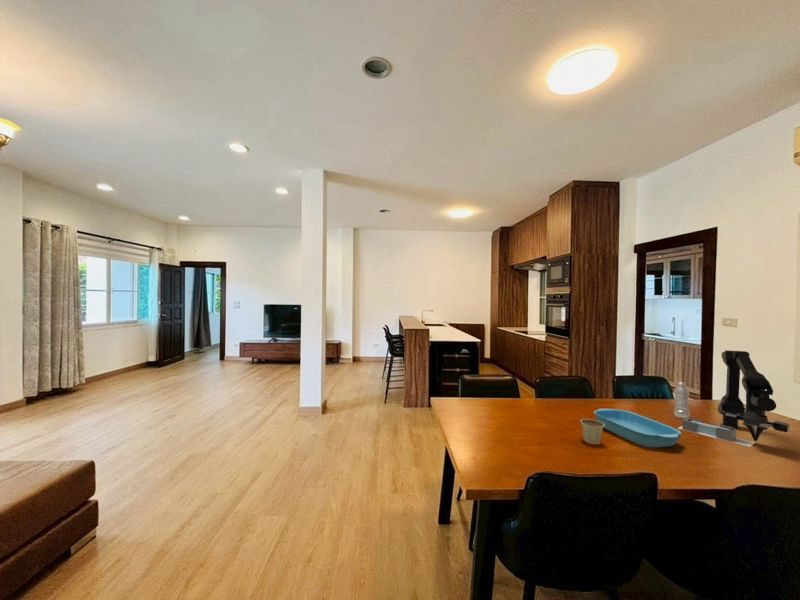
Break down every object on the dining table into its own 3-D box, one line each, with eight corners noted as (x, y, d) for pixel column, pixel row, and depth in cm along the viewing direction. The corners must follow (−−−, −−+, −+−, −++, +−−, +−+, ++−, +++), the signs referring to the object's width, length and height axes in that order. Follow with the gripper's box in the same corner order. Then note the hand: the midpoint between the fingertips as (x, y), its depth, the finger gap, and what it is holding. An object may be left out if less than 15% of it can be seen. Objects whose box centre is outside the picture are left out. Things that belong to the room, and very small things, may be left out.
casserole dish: (694, 450, 138) (694, 433, 138) (650, 454, 134) (650, 436, 134) (620, 420, 174) (620, 407, 174) (584, 422, 170) (584, 408, 170)
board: (683, 426, 166) (683, 424, 166) (755, 444, 146) (755, 442, 146) (677, 429, 161) (677, 428, 161) (750, 448, 141) (750, 446, 141)
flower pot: (601, 439, 148) (601, 420, 148) (607, 448, 139) (607, 427, 139) (578, 436, 151) (578, 417, 151) (582, 444, 142) (582, 424, 142)
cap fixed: (687, 426, 164) (687, 417, 164) (701, 429, 160) (701, 420, 160) (682, 429, 160) (682, 420, 160) (696, 432, 156) (696, 423, 156)
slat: (691, 428, 161) (691, 420, 161) (731, 438, 150) (731, 429, 150) (689, 429, 159) (689, 421, 159) (729, 440, 148) (729, 431, 148)
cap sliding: (731, 441, 146) (731, 431, 146) (716, 437, 150) (716, 427, 150) (736, 437, 150) (736, 428, 150) (720, 434, 154) (720, 424, 154)
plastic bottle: (692, 420, 175) (692, 383, 175) (678, 419, 176) (678, 382, 177) (684, 417, 181) (684, 381, 182) (671, 416, 183) (671, 380, 183)
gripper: (720, 402, 146) (720, 437, 146) (784, 414, 130) (785, 453, 130) (727, 398, 152) (727, 432, 152) (789, 409, 136) (789, 447, 136)
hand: (755, 440), depth 142 cm, fingers closed
